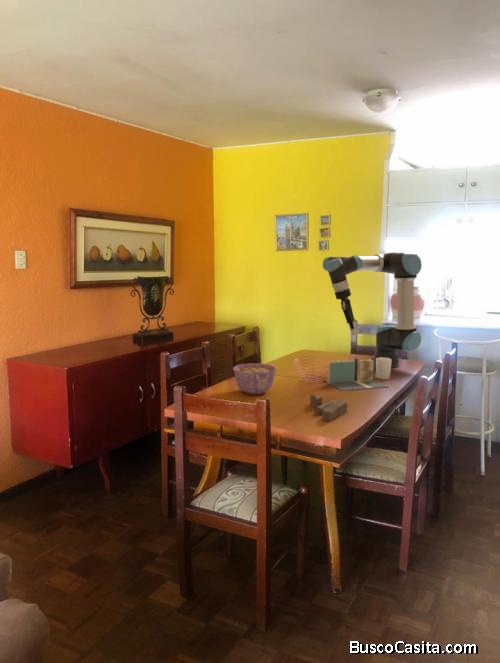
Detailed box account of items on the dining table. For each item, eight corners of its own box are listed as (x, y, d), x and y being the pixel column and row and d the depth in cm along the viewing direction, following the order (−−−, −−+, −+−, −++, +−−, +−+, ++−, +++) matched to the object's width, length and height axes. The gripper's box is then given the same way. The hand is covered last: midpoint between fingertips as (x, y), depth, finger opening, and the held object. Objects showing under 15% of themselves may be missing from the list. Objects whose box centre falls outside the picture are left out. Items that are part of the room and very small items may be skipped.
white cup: (378, 375, 277) (379, 356, 275) (392, 377, 272) (393, 358, 271) (372, 378, 271) (373, 359, 269) (387, 380, 266) (388, 361, 264)
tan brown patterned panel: (373, 380, 266) (374, 357, 264) (374, 380, 265) (375, 357, 263) (353, 381, 263) (354, 358, 261) (354, 382, 261) (355, 358, 260)
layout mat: (367, 377, 271) (367, 376, 271) (388, 387, 252) (388, 386, 252) (323, 380, 264) (323, 379, 264) (341, 390, 245) (341, 389, 245)
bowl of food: (268, 400, 229) (268, 374, 227) (226, 395, 236) (226, 370, 234) (281, 389, 248) (281, 365, 246) (242, 385, 255) (242, 362, 253)
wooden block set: (348, 398, 214) (330, 409, 199) (348, 411, 215) (329, 423, 200) (311, 392, 223) (291, 402, 208) (311, 404, 224) (291, 415, 209)
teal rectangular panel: (352, 380, 263) (353, 360, 261) (354, 380, 261) (355, 361, 260) (329, 381, 259) (329, 362, 257) (330, 382, 258) (331, 362, 256)
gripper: (336, 288, 264) (349, 332, 268) (332, 294, 252) (345, 339, 257) (350, 285, 261) (363, 328, 266) (347, 290, 249) (360, 336, 254)
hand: (354, 334), depth 261 cm, fingers closed
